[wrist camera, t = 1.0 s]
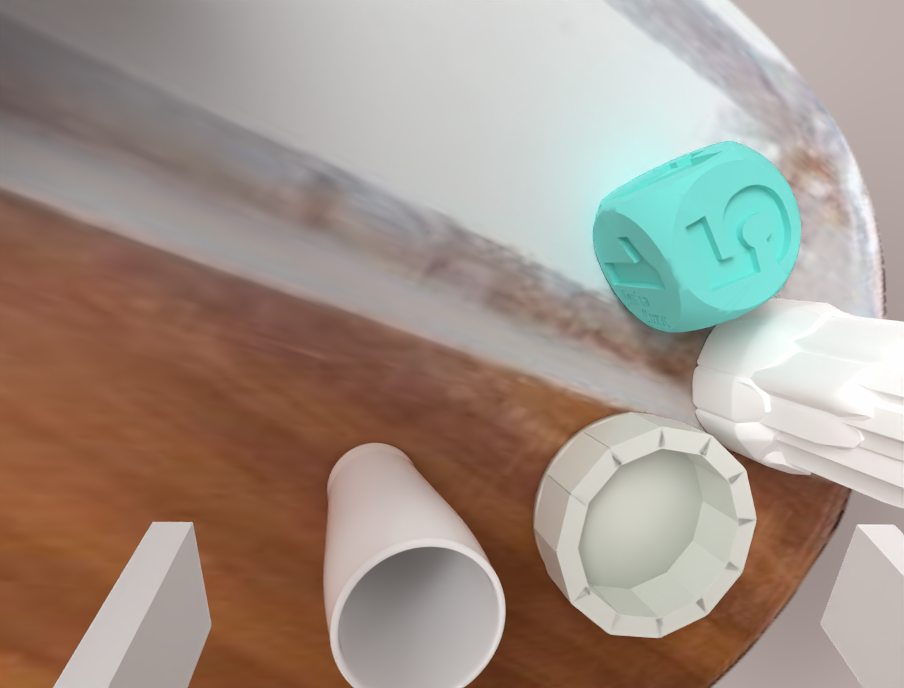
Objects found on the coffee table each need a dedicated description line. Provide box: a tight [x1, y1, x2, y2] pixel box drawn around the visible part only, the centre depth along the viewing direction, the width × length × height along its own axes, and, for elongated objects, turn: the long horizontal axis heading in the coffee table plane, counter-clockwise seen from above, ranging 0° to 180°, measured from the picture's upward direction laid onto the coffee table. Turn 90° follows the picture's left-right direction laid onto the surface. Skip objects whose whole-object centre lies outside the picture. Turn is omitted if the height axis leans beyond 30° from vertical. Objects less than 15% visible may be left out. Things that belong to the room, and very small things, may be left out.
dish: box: [533, 412, 757, 638], centre depth 40 cm, size 13×13×4 cm
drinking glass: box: [323, 443, 506, 688], centre depth 30 cm, size 7×7×15 cm
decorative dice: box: [593, 141, 801, 332], centre depth 36 cm, size 8×8×8 cm
